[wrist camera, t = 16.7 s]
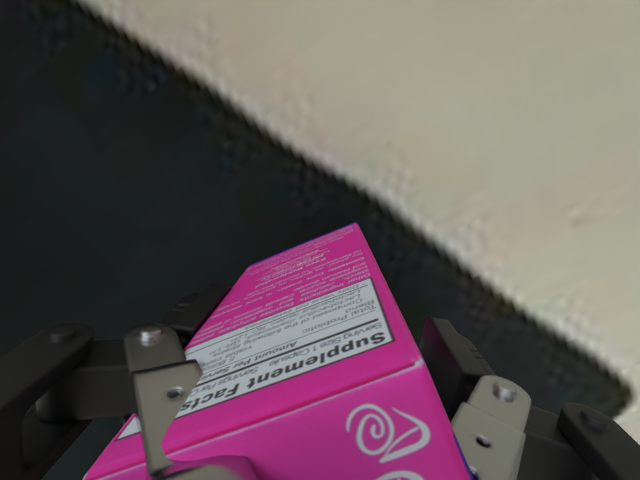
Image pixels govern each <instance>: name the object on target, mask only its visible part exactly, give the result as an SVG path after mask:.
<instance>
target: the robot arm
mask: <svg viewBox="0 0 640 480" xmlns="http://www.w3.org/2000/svg"><path fill="white" fill-rule="evenodd" d="M231 289H232V288H231V286H230V285H223V284H217V283H211V284H210V285H209V286H208V287H207V288H206V289H205V290H204V291H203V292H202V293H193V294H191V295H188V296H186V297H184V298H183V299H182V300H181V301H180V302H179V303H178V304H177V305H175V306H174V307H173V308H172V310H170V311H169V312H168V313H167V314H166V315H165V316H164V317H163V318H162V319H160V320H159V321H158V322H157V323H149V324H143V325H139V326H136V327H134V328H132V329H130V330H128V331H127V332H126V333H125V335H124V340H108V341H94V340H93V330H92V328H91V327H89V326H86V325H82V324H63V325H57V326H53V327H50V328H47V329H44V330H42V331H40V332H38V333H37V334H35V335H33V336H32V337H30V338H29V339H27V340H25V341H24V342H22V343H20V344H19V345H17V346H16V347H14V348H12V349H11V350H9V351H7V352H6V353H4V354H3V355H1V356H0V480H40V479H41V478H42V477H43V476H44V475H45V474H46V473H47V471H48V470H49V469H50V468H51V467H52V466H53V465H54V463H55V462H56V461H57V460H58V459H59V458H60V457H61V456H62V454H63V453H64V452H65V451H66V450H67V449H68V448H69V446H70V445H71V444H72V443H73V442H74V441H75V440H76V438H77V437H78V436H79V435H80V434H81V433H82V432H83V431H84V429H85V428H86V427H87V426H88V425H89V424H90V422H91V421H92V420H93V419H96V418H106V417H117V416H123V426H124V424H125V423H126V422H127V421H128V419H129V418H130V417H131V416H132V414H134V417H135V420H136V424H137V428H138V431H139V435H140V438H141V442H142V446H143V451H144V457H145V465H146V480H258V479H257V477H256V475H255V472H254V470H253V468H252V466H251V464H250V462H249V460H248V457H247V456H238V455H220V456H212V457H208V458H204V459H200V460H194V461H179V460H172V459H169V458H167V457H166V455H165V453H164V451H163V449H162V447H161V442H162V440H163V438H164V436H165V434H166V432H167V430H168V428H169V426H170V424H171V423H172V421H173V420H174V418H175V417H176V416H177V414H178V412H179V411H180V409H181V407H182V406H183V404H184V403H185V401H186V400H187V398H188V397H189V395H190V393H191V392H192V390H193V389H194V387H195V386H196V384H197V383H198V381H199V380H200V378H201V377H202V375H203V373H202V371H201V368H200V366H199V364H198V362H197V360H196V359H190V360H186V359H187V358H186V355H185V353H184V349H185V347H186V346H187V345H188V343H189V342H190V341H191V340H192V338H193V337H194V336H195V334H196V333H197V332H198V331H199V329H200V328H201V327H202V326H203V324H204V323H205V322H206V321H207V319H208V318H209V316H210V315H211V314H212V313H213V312H214V310H215V309H216V308H217V306H218V305H219V304H220V302H221V301H222V300H223V299H224V297H225V296H226V295H227V294H228V292H229V291H230V290H231ZM419 351H420V353H421V355H422V357H423V359H424V361H425V363H426V366H427V368H428V370H429V373H430V375H431V378H432V380H433V383H434V385H435V387H436V390H437V392H438V394H439V397H440V399H441V402H442V404H443V406H444V409H445V411H446V414H447V416H448V419H449V421H450V423H451V426H452V428H453V431H454V433H455V435H456V438H457V440H458V443H459V445H460V447H461V450H462V452H463V454H464V457H465V459H466V461H467V464H468V466H469V469H470V471H471V473H472V476H473V478H474V480H640V445H639V444H638V443H637V442H636V441H635V440H634V439H633V438H632V437H630V436H629V435H628V434H627V433H626V432H625V431H624V430H623V429H622V428H621V427H620V426H619V425H618V424H617V423H616V422H615V421H613V420H612V419H611V418H609V417H608V416H606V415H605V414H603V413H601V412H599V411H597V410H596V409H593V408H591V407H589V406H586V405H583V404H579V403H574V402H568V403H565V404H564V405H563V407H562V409H561V412H560V415H558V414H555V413H552V412H549V411H546V410H543V409H540V408H537V407H535V406H532V405H531V399H530V397H529V395H528V394H527V393H526V392H525V391H524V390H523V389H522V388H521V387H519V386H518V385H516V384H515V383H513V382H511V381H509V380H507V379H504V378H501V377H498V376H496V375H495V373H494V372H493V371H492V369H491V368H490V366H489V365H488V364H487V362H486V361H485V360H483V357H482V356H481V354H480V353H478V350H477V349H476V348H475V346H474V345H473V343H472V342H470V341H469V340H468V339H466V338H465V337H464V336H462V335H461V334H458V333H457V332H456V330H455V329H454V327H453V326H452V324H451V323H450V322H449V320H445V319H438V318H432V317H428V318H427V319H426V321H425V324H424V328H423V332H422V336H421V340H420V345H419ZM177 396H179V397H177ZM175 397H177V398H175ZM34 402H36V407H35V408H34V409H33V410H32V411H31V412H30V413H29V414H27V415H26V416H25V414H26V412H27V410H28V409H29V408H30V406H31V405H32V404H33V403H34ZM24 416H25V417H24Z"/></svg>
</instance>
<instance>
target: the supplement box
mask: <svg viewBox="0 0 640 480" xmlns="http://www.w3.org/2000/svg"><path fill="white" fill-rule="evenodd" d="M184 353H185V355H186V358H187V359H186V360H190V359H196V360H197V362H198V364H199V366H200V368H201V371H202V373H203V375H202V377H201V378H200V380H199V381H198V383H197V384H196V386H195V387H194V389H193V390H192V392H191V393H190V395H189V397H188V398H187V400H186V401H185V403H184V404H183V406H182V407H181V409H180V411H179V412H178V414H177V416H176V417H175V418H174V420H173V421H172V423H171V424H170V426H169V428H168V430H167V432H166V434H165V436H164V438H163V440H162V442H161V447H162V449H163V451H164V453H165V455H166V457H167V458H169V459H172V460H179V461H194V460H200V459H204V458H208V457H212V456H220V455H238V456H247V457H248V460H249V462H250V464H251V466H252V468H253V470H254V472H255V475H256V477H257V479H258V480H474V478H473V476H472V473H471V471H470V469H469V466H468V464H467V461H466V459H465V457H464V454H463V452H462V450H461V447H460V445H459V443H458V440H457V438H456V435H455V433H454V431H453V428H452V426H451V423H450V421H449V419H448V416H447V414H446V411H445V409H444V406H443V404H442V402H441V399H440V397H439V394H438V392H437V390H436V387H435V385H434V383H433V380H432V378H431V375H430V373H429V370H428V368H427V366H426V363H425V361H424V359H423V357H422V355H421V353H420V351H419V349H418V347H417V345H416V343H415V341H414V339H413V337H412V334H411V332H410V330H409V328H408V326H407V324H406V322H405V320H404V318H403V316H402V314H401V312H400V310H399V308H398V306H397V304H396V301H395V299H394V297H393V295H392V293H391V291H390V289H389V287H388V285H387V283H386V281H385V278H384V276H383V274H382V273H381V270H380V268H379V266H378V264H377V262H376V260H375V258H374V256H373V254H372V252H371V250H370V248H369V246H368V244H367V241H366V239H365V237H364V235H363V233H362V231H361V229H360V227H359V225H358V223H356V222H355V223H352V224H349V225H346V226H344V227H342V228H339V229H337V230H334V231H332V232H329V233H327V234H324V235H322V236H319V237H317V238H314V239H312V240H309V241H307V242H304V243H302V244H299V245H297V246H295V247H292V248H290V249H287V250H285V251H282V252H280V253H277V254H275V255H273V256H270V257H268V258H265V259H263V260H261V261H258V262H256V263H254V264H252V265H250V266H248V268H247V269H246V270H245V272H244V273H243V274H242V276H241V277H240V278H239V279H238V281H237V282H236V284H235V285H234V286H233V287H232V289H231V290H230V291H229V292H228V294H227V295H226V296H225V297H224V299H223V300H222V301H221V302H220V304H219V305H218V306H217V308H216V309H215V310H214V312H213V313H212V314H211V315H210V316H209V318H208V319H207V321H206V322H205V323H204V324H203V326H202V327H201V328H200V329H199V331H198V332H197V333H196V334H195V336H194V337H193V338H192V340H191V341H190V342H189V343H188V345H187V346H186V347H185V349H184ZM177 397H179V396H177ZM177 397H175V398H177ZM83 480H146V465H145V457H144V451H143V446H142V442H141V438H140V435H139V431H138V428H137V424H136V420H135V417H134V414H132V416H131V417H130V418H129V419H128V421H127V422H126V423H125V424H124V426H123V427H122V428H121V430H120V431H119V432H118V433H117V435H116V436H115V437H114V438H113V440H112V441H111V442H110V443H109V445H108V446H107V447H106V448H105V450H104V451H103V452H102V454H101V455H100V456H99V458H98V459H97V460H96V461H95V463H94V464H93V465H92V467H91V468H90V469H89V471H88V472H87V473H86V475H85V476H84V478H83Z"/></svg>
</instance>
